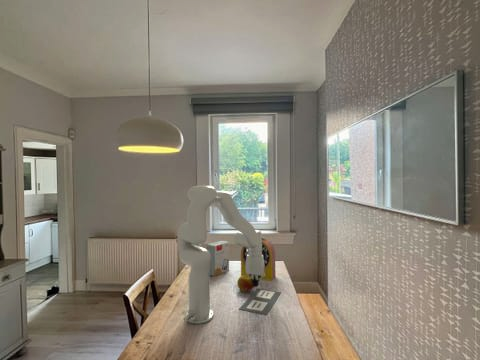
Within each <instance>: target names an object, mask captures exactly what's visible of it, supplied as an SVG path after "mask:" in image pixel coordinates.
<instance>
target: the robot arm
mask: <svg viewBox="0 0 480 360" xmlns="http://www.w3.org/2000/svg"><path fill="white" fill-rule="evenodd" d="M187 198H188V200H189V201H190V204H189V206H188V208H187V211H186V212H187V213H186V215H187V216H186V222H184V223H182V224H181V225H179V228H178V231H177V247H178V248H177V249H178V250H177V251H178V257H179V259H180V262H181V263H183V264H184V265H187V266H189V267H190V270H189V274H188V281H187V282H188V284H187V285H188V310H187V312H186V314H185V317H183V319H182V320H183V322H184V323H187V322H188V323H190V324H193V325H195V324H196V325H197V324H198V325H200V324H201V325H202V324H205V323H207V322H209V321H211V320H212V319H213V317H214V311H213V310H212V309H211V301H210V300H211V297H210V296H211V295H210V291H211V289H210V284H211V283H210V275H209V274H210V265H211V254H210V253H209V251H208V250H207V248H205V247H202V245H203V244H204V243H205V242H206V241H207V239H208V232H207V231H208V230H207V211H208V209H209V208H210V207H212V208H218V210H219V212H220V213H221V215H222V217H223V220H224V221H225V223H226V224H227V225H229V226H230V227H231V228H233V229H235V230H237V231H238V232H236V233H235V234H234V236H233V241H234V243H235V245H237V246H239V247H240V246H241V247H243V246H244V247H248V250H246V252H247V253H248V255H247V257H246V267H245V271H246V274H247V275H250V277H251V278H252V279H253V288H257V287H258V286H259V284H260V283H259V282H260V281H259V280H260V279H259V278H260V277H264V276H265V273H264V272H265V264H264V258H263V255H262V237H261V236H262V231H261V230H258V229H255V227H254V225H252V223H251V222H250V221H249V220H248V219H246V217H244V216H243V215H242V214H241V212H240V210H239V208H238V206H237V204H236V202H235V200H234V199H233V197H232V195H231V193H229V192H228V191H224V190H216V189H215V187H214V186H211V185H194V186H191V187H189V190H188V191H187ZM255 275H256V277H255Z"/></svg>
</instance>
